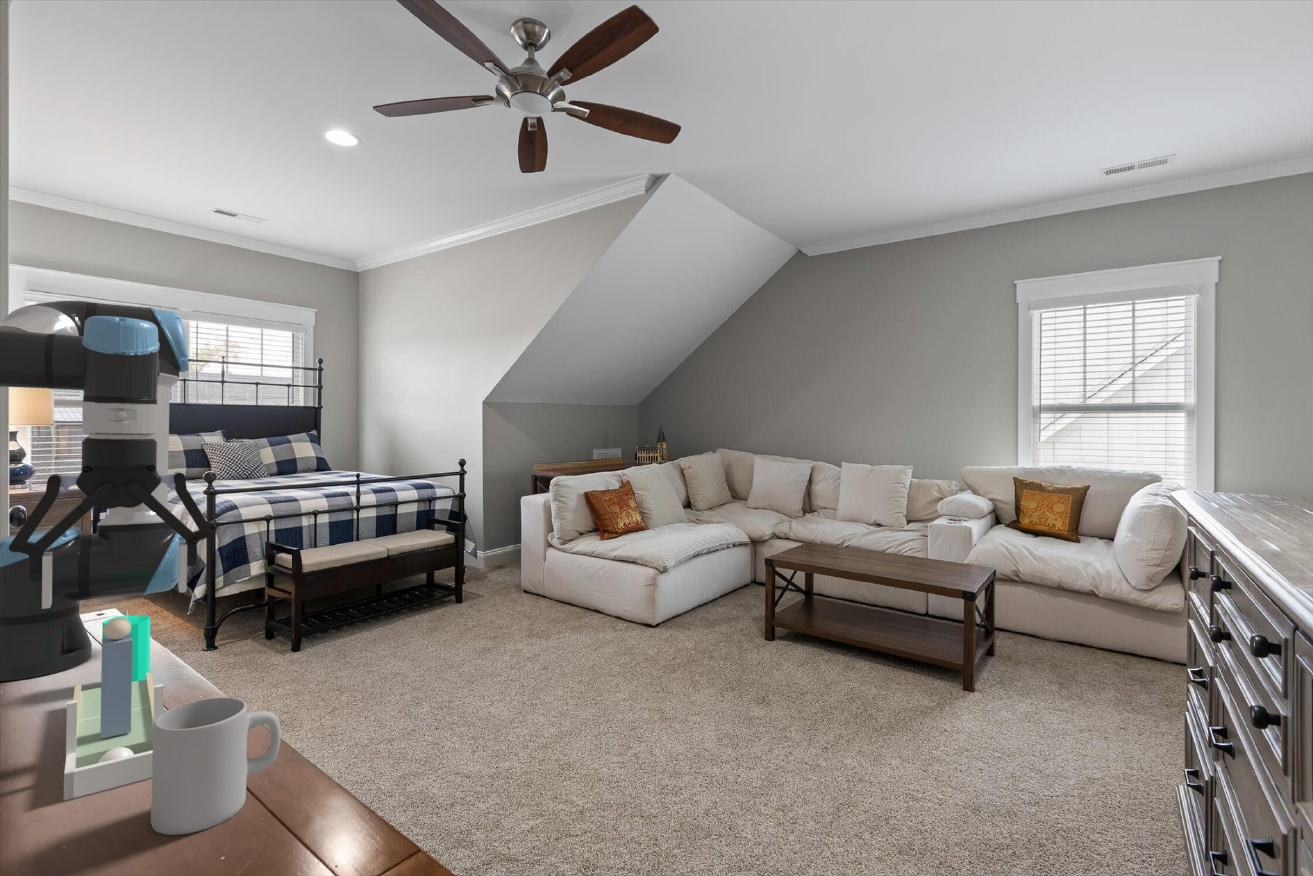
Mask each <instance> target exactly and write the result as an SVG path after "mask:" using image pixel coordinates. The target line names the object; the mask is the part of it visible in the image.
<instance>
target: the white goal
mask: <svg viewBox="0 0 1313 876" xmlns="http://www.w3.org/2000/svg"><path fill="white" fill-rule="evenodd" d="M162 713H164V683H160V684H154V721H155V720H156V718H157V717H158V716H160V715H161V714H162ZM153 725H154V724H153ZM65 729H66V733H65V735H66V736H65V737H66V739H65V742H66V743H65V764H64V765H65V766H64V773H63V774H64V775H63V776H64V777H63V801H64V802H65V801H68V800H72V799H73V800H74V799H76V798H80V797H84V796H89V795H91V794H96V793H99V792H102V791H107V790H112V789H115V788H119V787H122V786H126V785H129V784H133V783H136V782H137V783H138V782H141V781H145V780H149V779H152V764H153V750H151V751H147V752H143V753H139V754H135V755H131V756H126V757H122V758H118V759H114V760H110V761H106V762H101V763H97V764H93V765H89V766H85V767H81V768H77V769H76V753H77V700H74V701H73V700H70V701H66V728H65Z"/></svg>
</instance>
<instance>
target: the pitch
mask: <svg viewBox="0 0 1313 876" xmlns="http://www.w3.org/2000/svg"><path fill="white" fill-rule="evenodd" d="M154 685H155V683H154V677H153V672H152V671H150V672H149V673H146V679H145V680H140V681H134V682H132V693H131V732H129V733H124V734H120V735H115V736H111V737H106V738H102V739H100V727H101V687H96V688H91V689H90V688H89V689H87V690H82V684H77V685H75V686H74V691H73V699H72V701H74V700H77V753H76V769H77V768H81V767H85V766H89V765H93V764H97V763H98V762H99V760H100V758H101V757H102V756H103V755H104V754H105V753H106V752H108V751H110V750H112V749H114V748H118V747H125V748H128V749H130V750H131V751H132V752H133V753H134V755H135V754H139V753H143V752H147V751H151V750H153V724H154Z"/></svg>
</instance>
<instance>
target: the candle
mask: <svg viewBox="0 0 1313 876" xmlns="http://www.w3.org/2000/svg"><path fill="white" fill-rule="evenodd" d="M128 612H129V611H128V609H127V610H126V615H117V616H113V617H110V618H108V619H106V620H104V621H103V622H102V632H101V633H102V639H104V638H106V637H105V635H104V633H103V629H104V626H105V625H106V623H107V622H109V621H110V620H112V619H114V618H125V619H127V620H128V621H129V622H130V623H131V630H130V632H129V634H128V635H131V634H132V682H134V681H140V680H145V679H146V673H149V672H151V671H150V670H151V669H150V668H151V665H150V664H151V663H150V662H151V658H150V657H151V616H149V615H129V613H128ZM102 639H101V640H102Z"/></svg>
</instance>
